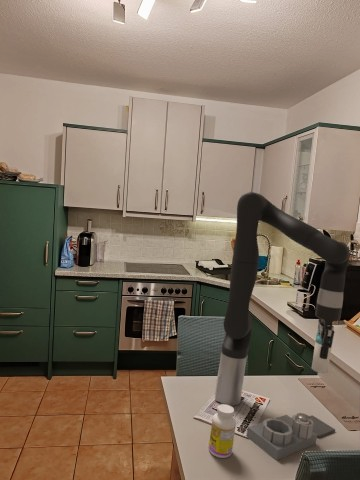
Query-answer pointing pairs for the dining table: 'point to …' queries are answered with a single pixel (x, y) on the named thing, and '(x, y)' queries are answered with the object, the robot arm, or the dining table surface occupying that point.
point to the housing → (282, 436)
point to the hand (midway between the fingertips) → (321, 355)
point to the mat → (321, 427)
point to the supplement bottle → (222, 432)
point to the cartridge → (319, 363)
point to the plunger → (303, 418)
